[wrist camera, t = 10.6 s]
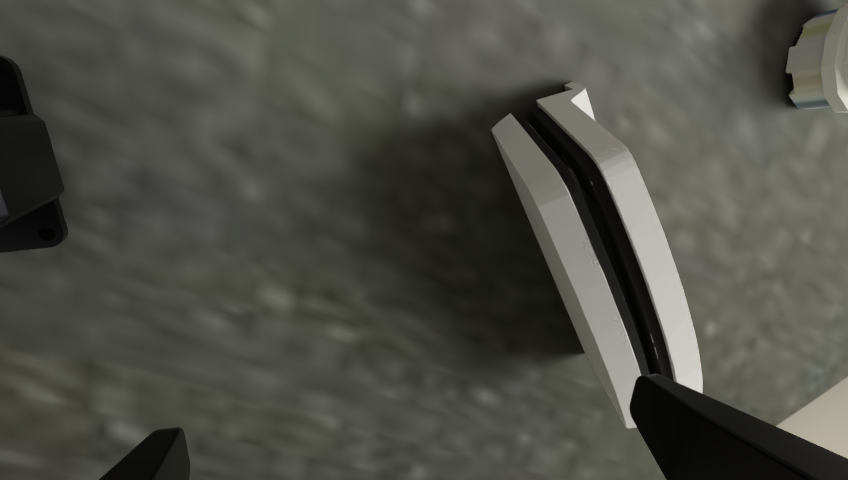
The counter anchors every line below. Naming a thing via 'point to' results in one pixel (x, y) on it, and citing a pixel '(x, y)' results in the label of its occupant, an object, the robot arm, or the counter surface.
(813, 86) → the grey long bar
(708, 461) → the robot arm
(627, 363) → the white layered curved block
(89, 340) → the counter surface
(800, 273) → the counter surface
